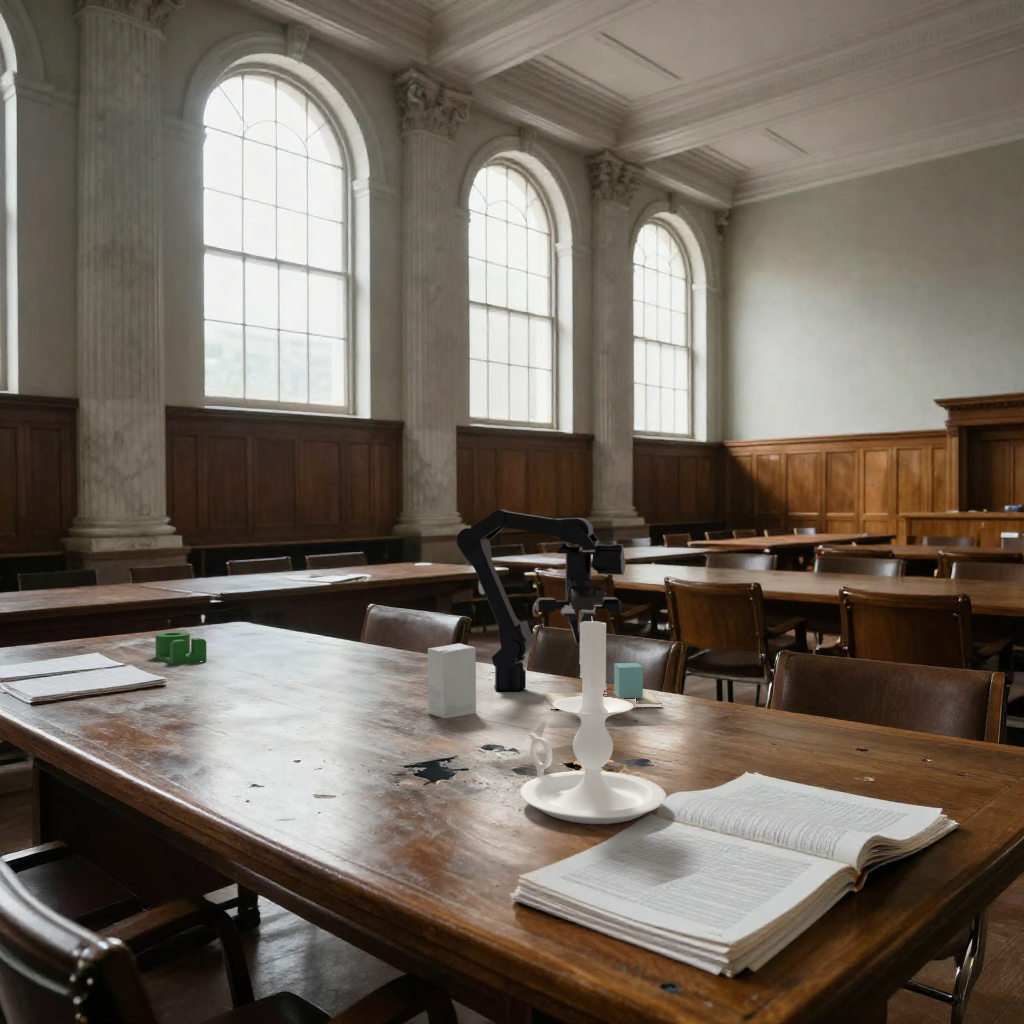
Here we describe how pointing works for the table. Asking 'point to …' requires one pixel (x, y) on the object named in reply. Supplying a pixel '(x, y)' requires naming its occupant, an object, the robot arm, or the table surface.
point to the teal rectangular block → (628, 680)
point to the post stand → (645, 700)
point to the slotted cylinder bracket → (179, 648)
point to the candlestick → (590, 753)
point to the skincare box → (452, 680)
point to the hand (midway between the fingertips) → (578, 643)
